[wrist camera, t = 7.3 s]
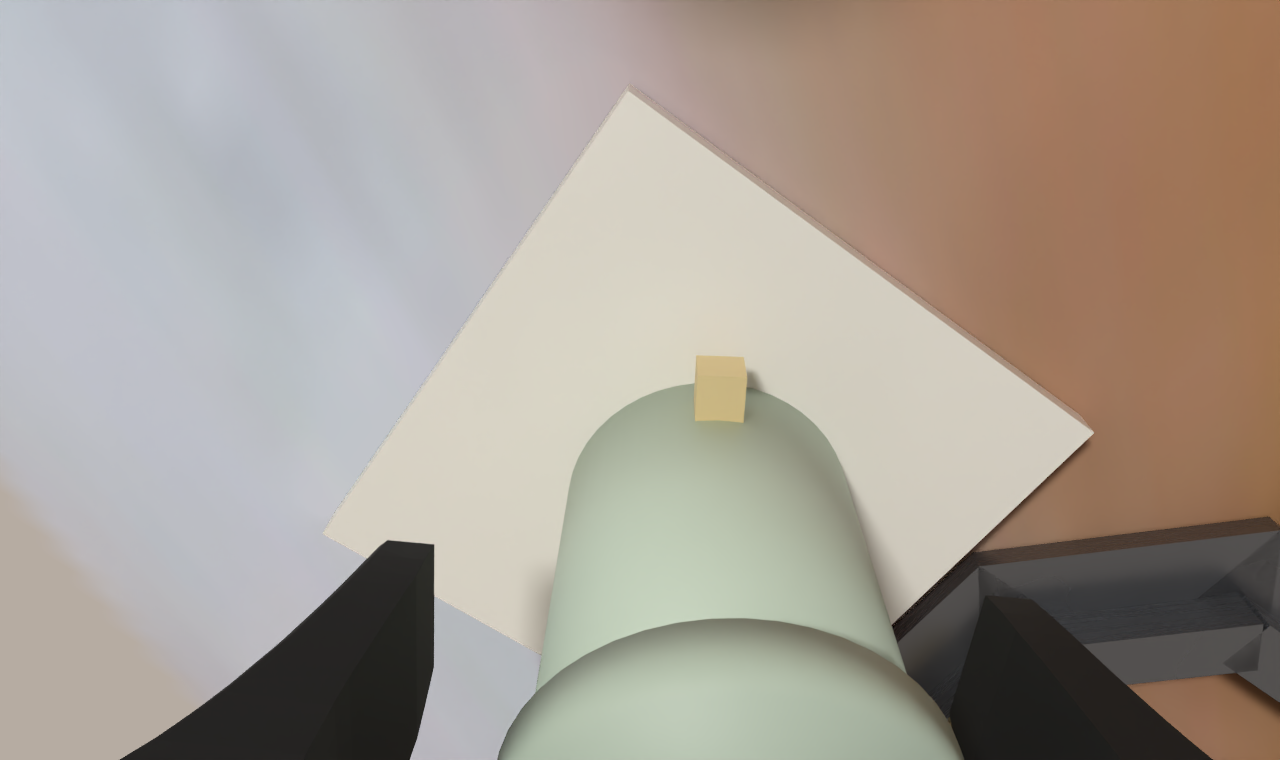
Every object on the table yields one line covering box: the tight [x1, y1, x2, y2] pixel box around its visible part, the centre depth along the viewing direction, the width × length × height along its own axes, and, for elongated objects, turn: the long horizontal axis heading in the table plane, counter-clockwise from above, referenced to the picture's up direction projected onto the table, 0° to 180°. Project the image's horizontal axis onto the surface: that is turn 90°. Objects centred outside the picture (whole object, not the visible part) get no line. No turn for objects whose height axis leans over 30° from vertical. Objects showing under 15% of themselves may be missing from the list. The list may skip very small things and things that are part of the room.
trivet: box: [323, 84, 1094, 655], centre depth 16 cm, size 9×9×1 cm
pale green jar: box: [498, 355, 964, 760], centre depth 13 cm, size 6×5×7 cm
